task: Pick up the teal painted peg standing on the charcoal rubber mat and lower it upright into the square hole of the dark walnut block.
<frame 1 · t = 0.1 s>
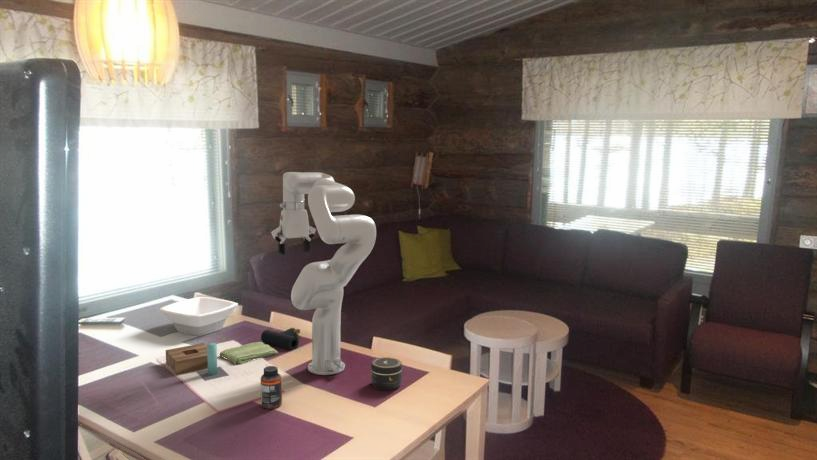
hand: (294, 252, 212), 37 cm above the table, tool pointing down, fingers open, 9 cm apart
supplement bottle: (271, 405, 169), on the table
pipe connector: (285, 344, 223), on the table
bowl: (200, 330, 238), on the table
washcloth: (248, 357, 209), on the table
mat: (212, 374, 191), on the table
peg: (212, 373, 191), resting on mat
jar: (386, 385, 185), on the table
hole block: (191, 365, 198), on the table
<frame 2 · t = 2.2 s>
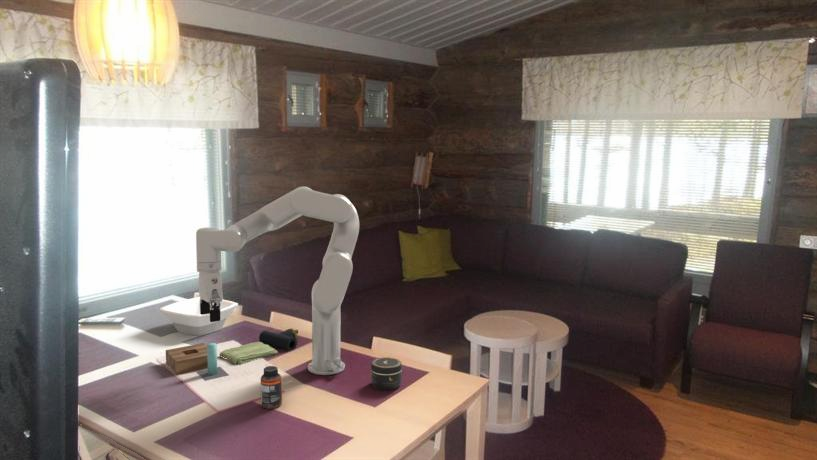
hand: (210, 317, 188), 19 cm above the table, tool pointing down, fingers open, 9 cm apart
pipe connector: (284, 345, 222), on the table
everything else where it was.
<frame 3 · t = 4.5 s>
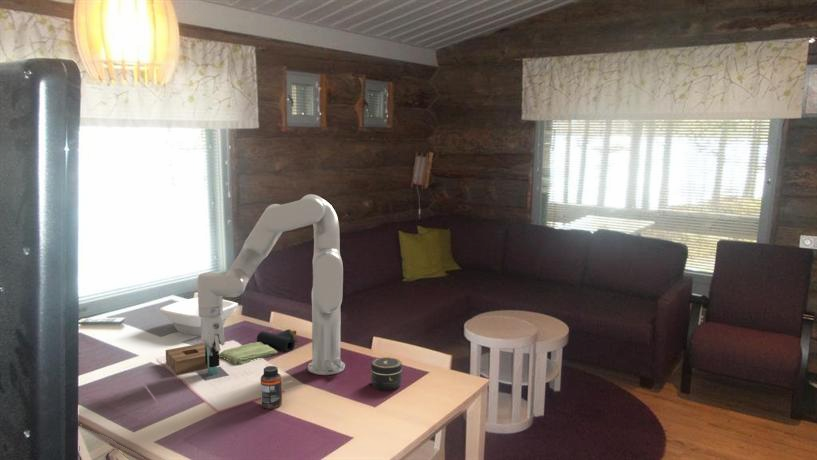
hand: (212, 364, 191), 4 cm above the table, tool pointing down, fingers closed on peg, 3 cm apart
pipe connector: (282, 346, 221), on the table
peg: (212, 373, 191), resting on mat, touching gripper
everything else where it was.
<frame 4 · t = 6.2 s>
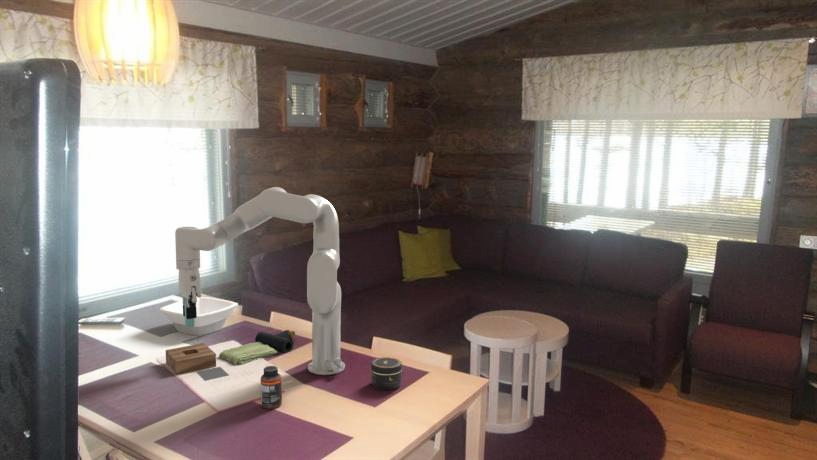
hand: (189, 316, 196), 18 cm above the table, tool pointing down, fingers closed on peg, 3 cm apart
peg: (189, 325, 196), point 14 cm above the table, touching gripper
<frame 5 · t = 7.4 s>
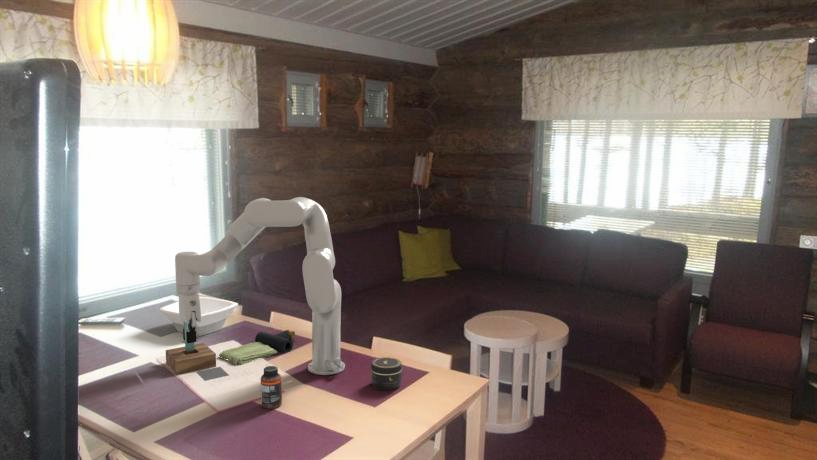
hand: (189, 340, 197), 9 cm above the table, tool pointing down, fingers closed on peg, 3 cm apart
peg: (190, 349, 198), point 6 cm above the table, touching gripper
everything else where it was.
when the fingers open (6 cm above the table, at t = 8.2 s): peg drops 3 cm, resting in hole block.
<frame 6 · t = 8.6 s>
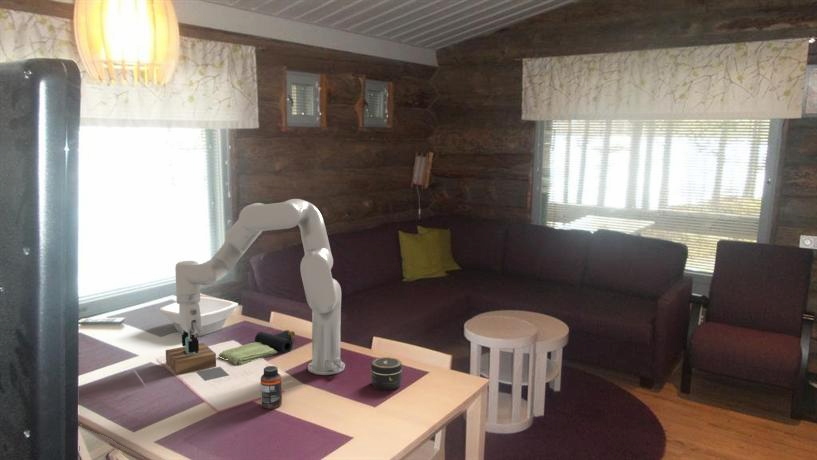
hand: (190, 348, 198), 6 cm above the table, tool pointing down, fingers open, 6 cm apart
peg: (190, 365, 198), resting in hole block
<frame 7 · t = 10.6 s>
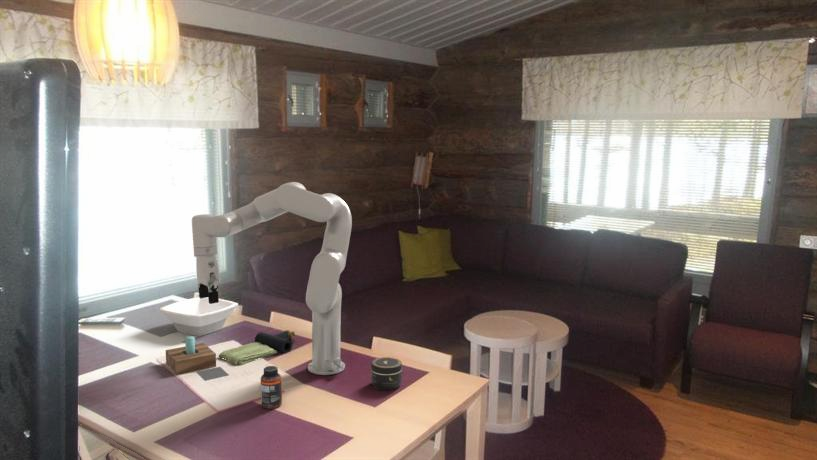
hand: (208, 300, 198), 23 cm above the table, tool pointing down, fingers open, 9 cm apart
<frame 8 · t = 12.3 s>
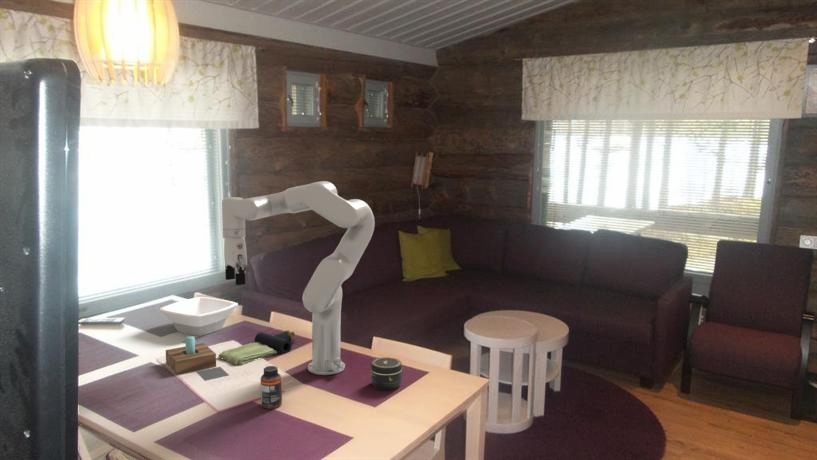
hand: (235, 281, 201), 28 cm above the table, tool pointing down, fingers open, 9 cm apart
at the end: peg 0.0 cm off-centre on the hole block, point 0.0 cm above the hole block's base; peg tilted 0°; the gripper is holding nothing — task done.
